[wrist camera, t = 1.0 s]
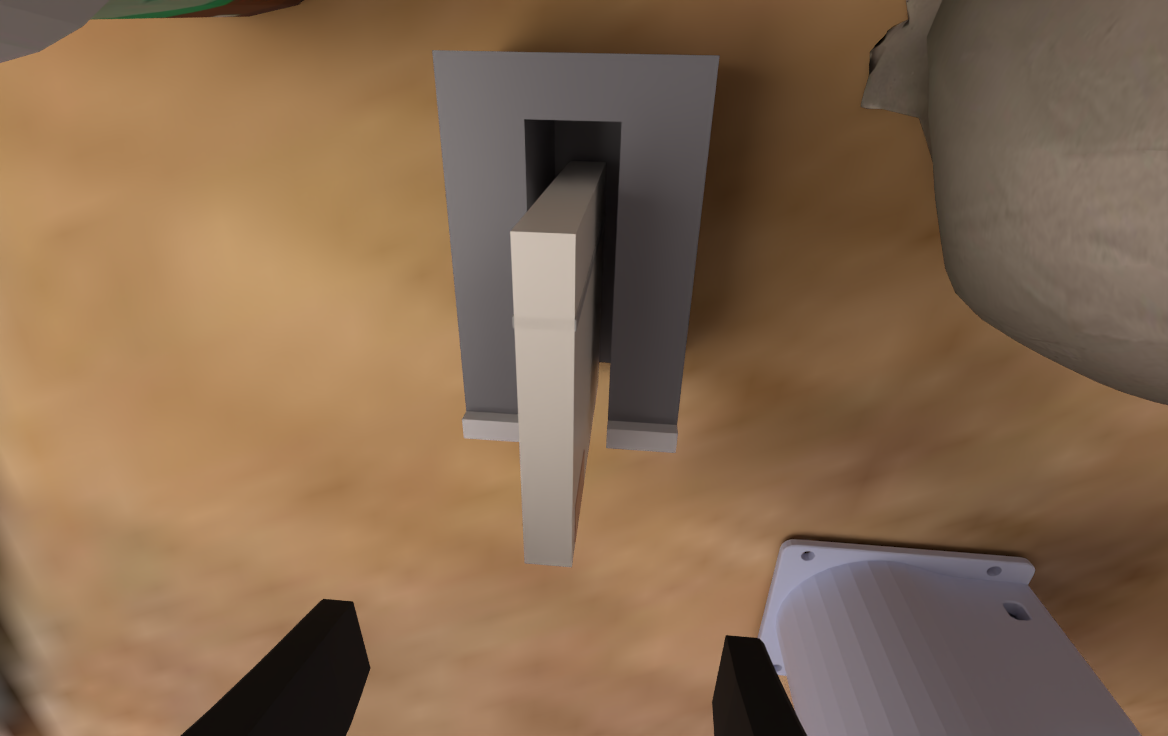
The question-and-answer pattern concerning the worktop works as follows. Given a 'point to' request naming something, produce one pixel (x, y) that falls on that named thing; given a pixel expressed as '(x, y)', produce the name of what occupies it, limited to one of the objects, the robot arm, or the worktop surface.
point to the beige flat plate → (557, 353)
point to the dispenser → (632, 212)
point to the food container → (103, 17)
